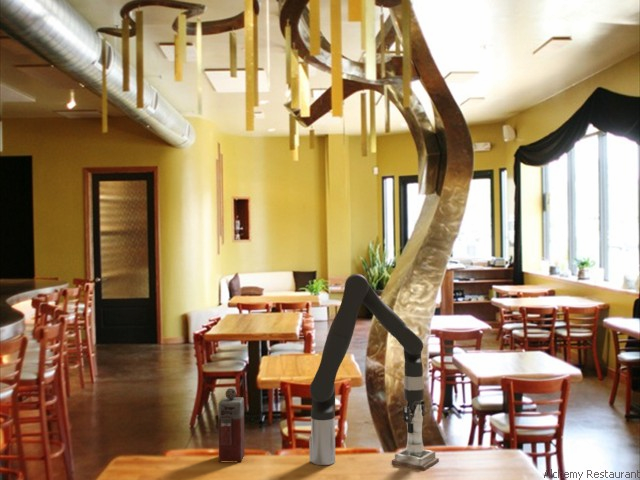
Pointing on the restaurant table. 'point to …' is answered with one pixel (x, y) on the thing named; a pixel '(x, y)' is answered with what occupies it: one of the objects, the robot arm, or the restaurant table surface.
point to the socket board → (416, 459)
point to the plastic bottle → (415, 436)
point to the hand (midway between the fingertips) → (414, 430)
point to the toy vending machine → (231, 427)
